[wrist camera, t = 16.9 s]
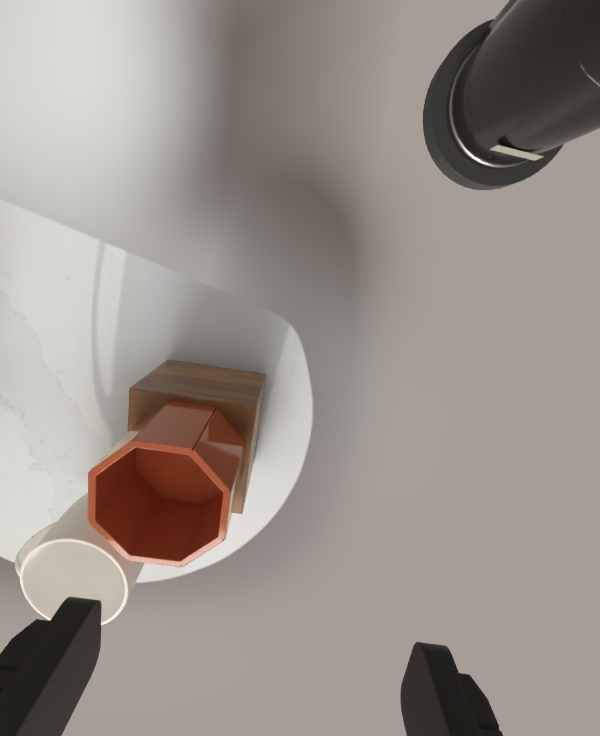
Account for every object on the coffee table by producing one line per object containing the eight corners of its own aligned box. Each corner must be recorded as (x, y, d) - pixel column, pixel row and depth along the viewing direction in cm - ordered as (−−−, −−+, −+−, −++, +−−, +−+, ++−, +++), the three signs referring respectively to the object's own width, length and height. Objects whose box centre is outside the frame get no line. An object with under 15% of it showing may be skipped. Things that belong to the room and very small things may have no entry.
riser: (167, 359, 39) (129, 388, 30) (266, 374, 39) (256, 406, 30) (161, 448, 41) (124, 498, 33) (253, 461, 42) (242, 514, 33)
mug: (164, 458, 42) (112, 534, 30) (181, 527, 44) (138, 623, 32) (58, 471, 42) (-33, 550, 30) (81, 538, 44) (4, 636, 33)
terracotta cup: (135, 395, 30) (88, 433, 23) (249, 411, 31) (235, 454, 24) (130, 494, 32) (86, 555, 26) (236, 508, 33) (220, 572, 26)
